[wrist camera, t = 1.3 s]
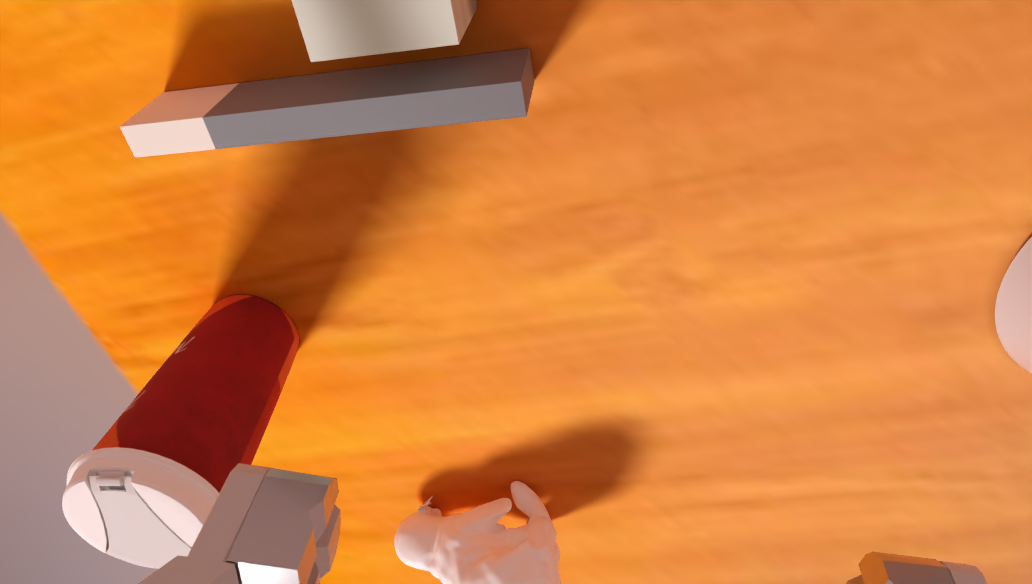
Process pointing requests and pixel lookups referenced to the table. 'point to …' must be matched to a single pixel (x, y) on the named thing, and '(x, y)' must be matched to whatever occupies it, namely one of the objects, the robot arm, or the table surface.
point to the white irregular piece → (483, 543)
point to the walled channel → (335, 104)
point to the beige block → (380, 25)
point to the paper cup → (183, 435)
